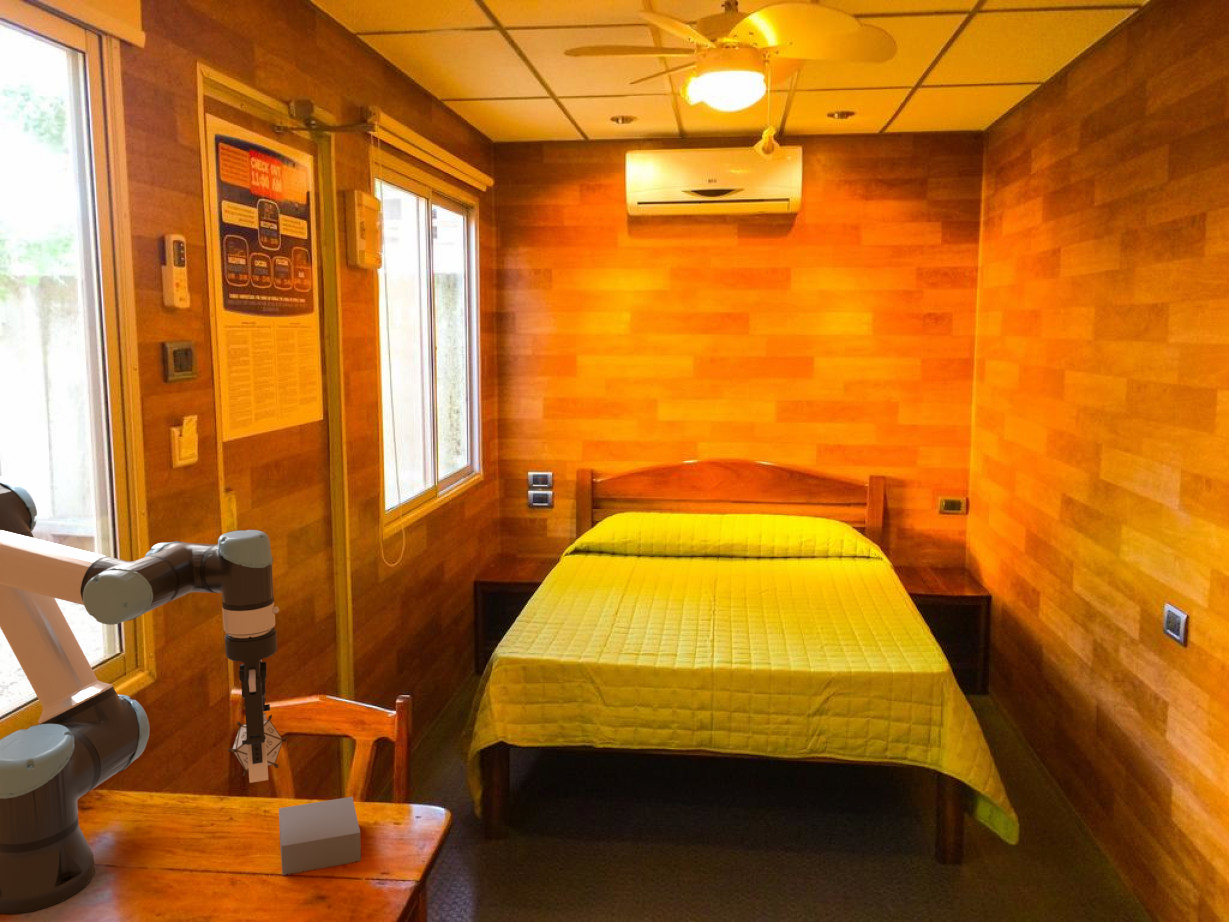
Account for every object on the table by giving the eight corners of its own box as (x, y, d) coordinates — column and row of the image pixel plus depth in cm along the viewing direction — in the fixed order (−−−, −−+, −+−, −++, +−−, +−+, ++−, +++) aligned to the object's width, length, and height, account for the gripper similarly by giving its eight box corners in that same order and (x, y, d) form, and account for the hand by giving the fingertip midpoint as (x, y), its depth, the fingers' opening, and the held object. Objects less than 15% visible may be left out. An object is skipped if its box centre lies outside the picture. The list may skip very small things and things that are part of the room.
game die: (247, 793, 148) (205, 746, 147) (285, 754, 154) (246, 709, 153) (270, 782, 142) (226, 733, 141) (309, 743, 149) (268, 696, 147)
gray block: (282, 875, 147) (281, 846, 146) (279, 835, 158) (278, 808, 157) (360, 860, 151) (360, 832, 151) (352, 823, 162) (352, 796, 162)
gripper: (276, 650, 136) (285, 794, 139) (275, 607, 157) (283, 733, 160) (220, 657, 134) (231, 803, 137) (227, 612, 154) (236, 740, 157)
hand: (259, 765), depth 148 cm, fingers closed on game die, 9 cm apart
